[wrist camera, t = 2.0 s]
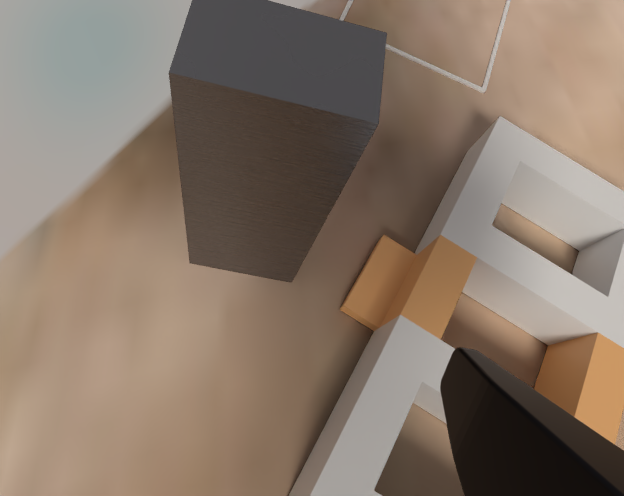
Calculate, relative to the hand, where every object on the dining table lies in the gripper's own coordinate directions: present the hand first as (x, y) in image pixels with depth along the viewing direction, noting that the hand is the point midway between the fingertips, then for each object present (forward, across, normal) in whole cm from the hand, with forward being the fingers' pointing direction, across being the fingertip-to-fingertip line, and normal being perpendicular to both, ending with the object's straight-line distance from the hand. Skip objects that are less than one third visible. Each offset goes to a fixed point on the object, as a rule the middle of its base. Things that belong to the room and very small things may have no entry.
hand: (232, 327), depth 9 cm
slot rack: (+12, -13, +6) cm, 18 cm away
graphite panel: (+14, 0, +4) cm, 15 cm away
